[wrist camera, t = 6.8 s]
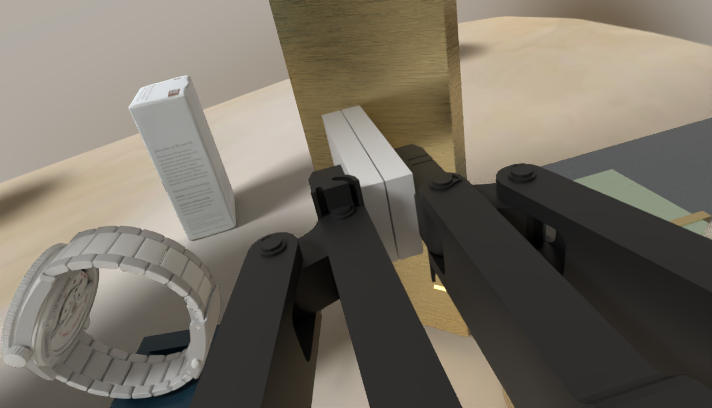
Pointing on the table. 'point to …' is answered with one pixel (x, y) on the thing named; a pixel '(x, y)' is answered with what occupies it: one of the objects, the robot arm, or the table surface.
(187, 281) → the watch
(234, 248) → the table surface
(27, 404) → the table surface
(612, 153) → the levelling stand
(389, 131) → the brass panel with base
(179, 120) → the skincare box
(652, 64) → the table surface
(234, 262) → the table surface
